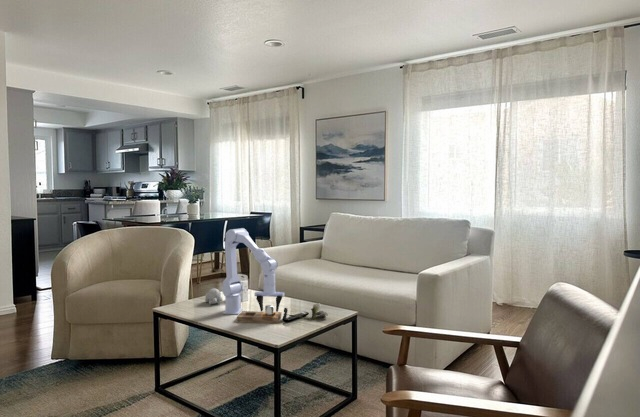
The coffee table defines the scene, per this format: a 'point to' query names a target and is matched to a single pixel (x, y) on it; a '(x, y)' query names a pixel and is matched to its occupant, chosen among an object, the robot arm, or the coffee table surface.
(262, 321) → the wooden board with recesses
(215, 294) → the round bodied animal figurine
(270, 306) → the steel peg
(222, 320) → the coffee table surface
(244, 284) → the ink cartridge box
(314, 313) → the artificial flower
